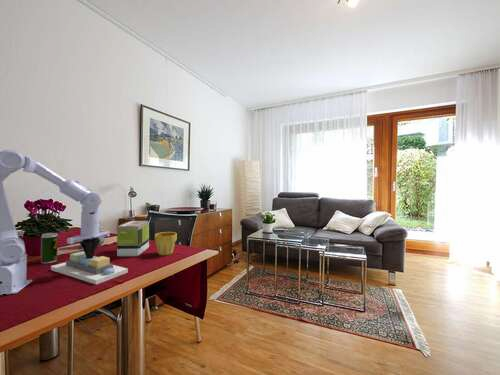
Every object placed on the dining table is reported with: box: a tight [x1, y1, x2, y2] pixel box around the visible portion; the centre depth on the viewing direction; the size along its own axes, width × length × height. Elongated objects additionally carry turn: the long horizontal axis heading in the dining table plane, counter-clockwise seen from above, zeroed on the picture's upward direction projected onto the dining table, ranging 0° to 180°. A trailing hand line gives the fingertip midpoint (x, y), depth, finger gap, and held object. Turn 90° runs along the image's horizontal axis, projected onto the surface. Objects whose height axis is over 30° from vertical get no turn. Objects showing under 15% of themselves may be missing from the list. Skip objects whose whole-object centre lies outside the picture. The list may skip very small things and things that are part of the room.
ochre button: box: [90, 255, 111, 268], centre depth 85 cm, size 4×4×3 cm
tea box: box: [116, 220, 150, 257], centre depth 114 cm, size 15×10×15 cm, turn 5°
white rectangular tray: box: [50, 259, 129, 285], centre depth 88 cm, size 28×12×4 cm, turn 66°
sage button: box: [69, 250, 86, 262], centre depth 90 cm, size 4×4×3 cm
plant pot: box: [154, 231, 178, 256], centre depth 112 cm, size 10×10×10 cm
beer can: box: [40, 232, 59, 265], centre depth 97 cm, size 5×5×12 cm
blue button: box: [80, 255, 98, 265], centre depth 88 cm, size 4×4×3 cm
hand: (89, 258), depth 88 cm, fingers closed, pressing on blue button
